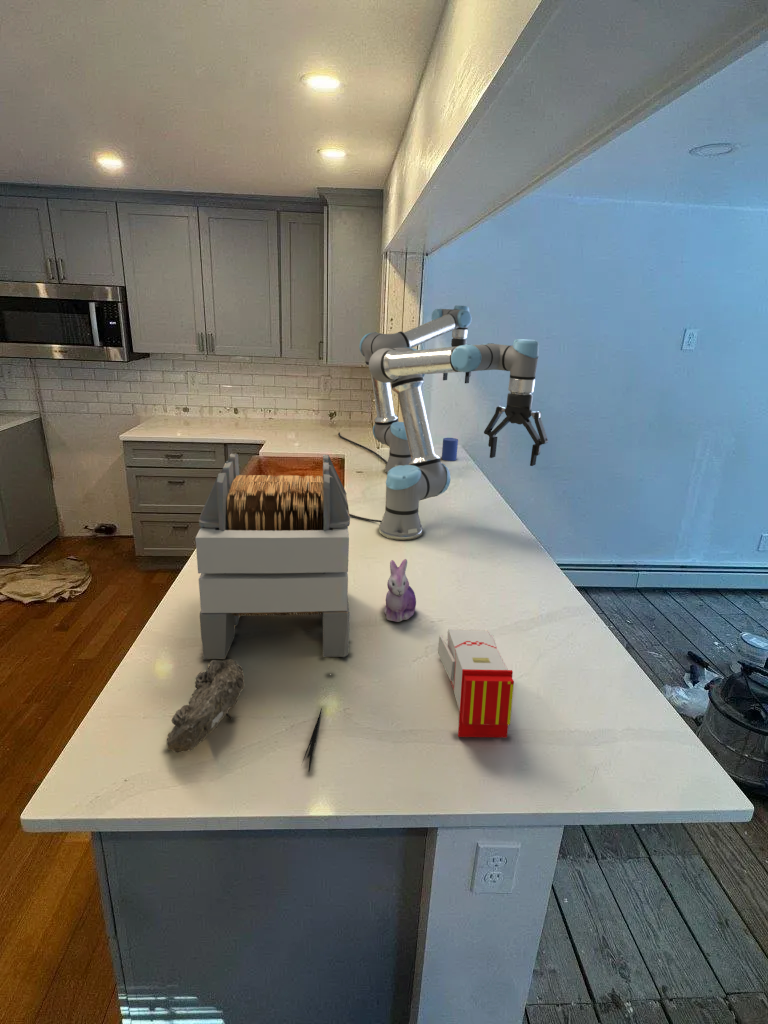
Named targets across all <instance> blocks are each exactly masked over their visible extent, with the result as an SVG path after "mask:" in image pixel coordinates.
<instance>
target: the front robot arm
mask: <svg viewBox="0 0 768 1024" xmlns="http://www.w3.org/2000/svg"><path fill="white" fill-rule="evenodd" d="M539 353H540V343H539V341H538V340H535V339H526V338H525V339H523V338H518V339H517V338H515V340H514V341H513V343H512V344H511V345H508V344H499V343H493V342H492V343H491V342H488V343H481V344H466V345H461V346H455V347H452V346H447V347H435V348H428V349H417V348H415V347H413V348H408V347H404V348H383V349H379V350H377V351H376V352H375V353H374V354H373V355H372V356H371V358H370V361H369V367H368V370H369V373H370V376H371V375H372V376H373V377H374V378H375V379H376V380H378V381H380V382H384V383H390V386H391V391H393V392H395V394H397V400H398V404H399V408H400V412H401V417H402V422H404V426H405V431H406V436H407V440H408V445H409V449H410V454H411V461H410V463H409V465H404V466H403V465H400V466H396V467H393V468H391V469H390V470H389V471H388V473H386V479H385V504H384V505H385V507H384V508H385V509H384V513H383V515H382V519H381V520H380V519H373V518H366V517H362V516H358V515H355V514H353V513H349V516H350V517H352V518H354V519H360V520H361V521H362V520H363V521H368V522H375V523H379V525H378V533H379V534H380V535H381V536H382V537H385V538H387V539H389V540H395V541H410V540H415V539H418V538H420V537H421V536H422V535H423V525H422V524H421V518H420V515H419V507H420V506H419V505H420V501H423V500H426V499H430V498H434V497H438V496H439V495H441V494H444V493H445V492H446V491H447V490H448V488H449V487H450V484H451V479H452V478H451V472H450V469H449V468H448V467H447V466H446V464H444V463H443V462H442V459H441V457H440V456H439V455H437V454H436V453H435V448H434V444H433V443H434V442H433V439H432V434H431V430H430V425H429V421H428V416H427V411H426V405H425V401H424V398H423V393H422V386H423V385H424V384H425V383H424V377H425V375H433V374H435V375H436V374H443V373H448V374H450V373H466V372H471V373H472V372H479V371H481V372H483V371H495V370H496V371H504V372H509V382H508V387H507V390H508V393H507V397H506V407H504V406H503V405H499V406H496V408H495V411H494V414H493V415H492V417H491V419H490V421H489V422H488V424H487V425H486V427H485V429H484V431H483V434H484V435H487V436H488V444H487V445H488V447H489V448H490V450H489V458H490V459H493V458H496V456H497V455H496V454H497V446H498V436H497V434H498V433H499V432H501V431H502V430H503V429H504V428H505V427H506V426H507V425H508V424H509V423H511V424H517V425H522V426H523V427H524V428H525V429H526V432H527V433H528V435H529V436H530V438H531V439H532V441H533V443H534V444H532V446H531V447H532V448H531V455H530V462H529V466H530V467H533V466H536V464H537V456H540V454H541V449H542V445H546V444H548V443H549V439H548V436H547V433H546V429H545V427H544V424H543V420H542V411H540V410H537V411H533V410H532V406H533V400H534V399H533V398H534V395H533V393H534V391H535V384H536V375H537V367H538V361H539V356H540V355H539ZM503 414H505V417H504V419H503V420H502V421H501V422H500V423H499V424H498V425H497V426H496V424H497V423H498V422H499V420H500V418H501V416H502V415H503ZM530 418H532V419H533V420H534V424H535V427H536V429H535V428H534V426H533V423H532V421H531V419H530ZM495 426H496V427H495ZM494 427H495V428H494ZM536 430H537V431H536Z"/></svg>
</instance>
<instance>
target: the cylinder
mask: <svg viewBox="0 0 768 1024" xmlns="http://www.w3.org/2000/svg"><path fill="white" fill-rule="evenodd" d="M458 447H459V439H458V438H454V437H444V438H442V447H441V449H442V450H441V460H443V461H446V462H447V461H448V462H454V461H457V457H458Z"/></svg>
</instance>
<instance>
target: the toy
mask: <svg viewBox="0 0 768 1024" xmlns="http://www.w3.org/2000/svg"><path fill="white" fill-rule="evenodd" d="M446 640H447V643H446V641H445V639H444V636H443V635H442V634H439V637H438V646H437V656H438V657H439V659H440V661H441V663H442V666H443V668H444V670H445V672H446V674H447V677H448V679H449V681H450V684H451V687H452V690H453V693H454V697H455V701H456V705H457V708H458V711H459V714H458V715H459V716H458V730H457V731H458V732H457V737H458V738H508V731H509V726H510V725H511V717H512V707H513V697H514V696H513V695H514V684H515V680H514V679H513V673H514V671H513V670H512V669H508V667H507V665H506V662H505V661H504V659H503V658H502V655H501V653H500V651H499V649H498V647H497V643H496V639H495V637H494V635H493V634H491V632H490V631H489V629H467V628H466V629H465V628H463V629H461V628H460V629H459V628H448V630H447V639H446Z"/></svg>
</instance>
